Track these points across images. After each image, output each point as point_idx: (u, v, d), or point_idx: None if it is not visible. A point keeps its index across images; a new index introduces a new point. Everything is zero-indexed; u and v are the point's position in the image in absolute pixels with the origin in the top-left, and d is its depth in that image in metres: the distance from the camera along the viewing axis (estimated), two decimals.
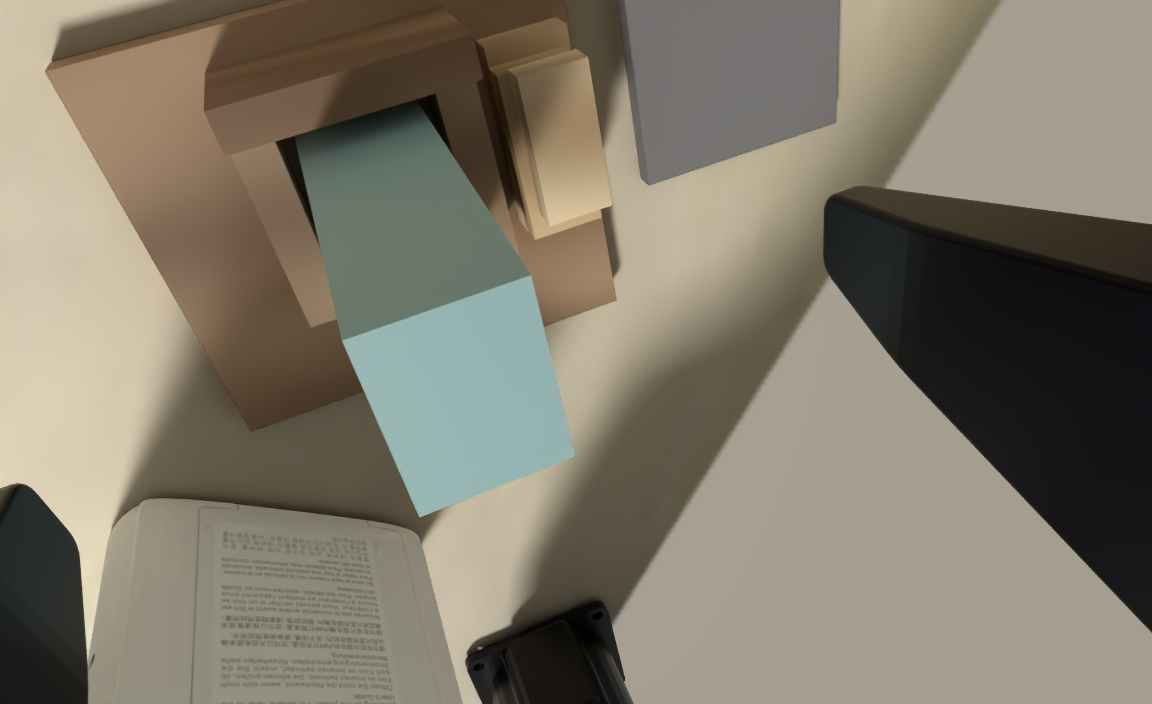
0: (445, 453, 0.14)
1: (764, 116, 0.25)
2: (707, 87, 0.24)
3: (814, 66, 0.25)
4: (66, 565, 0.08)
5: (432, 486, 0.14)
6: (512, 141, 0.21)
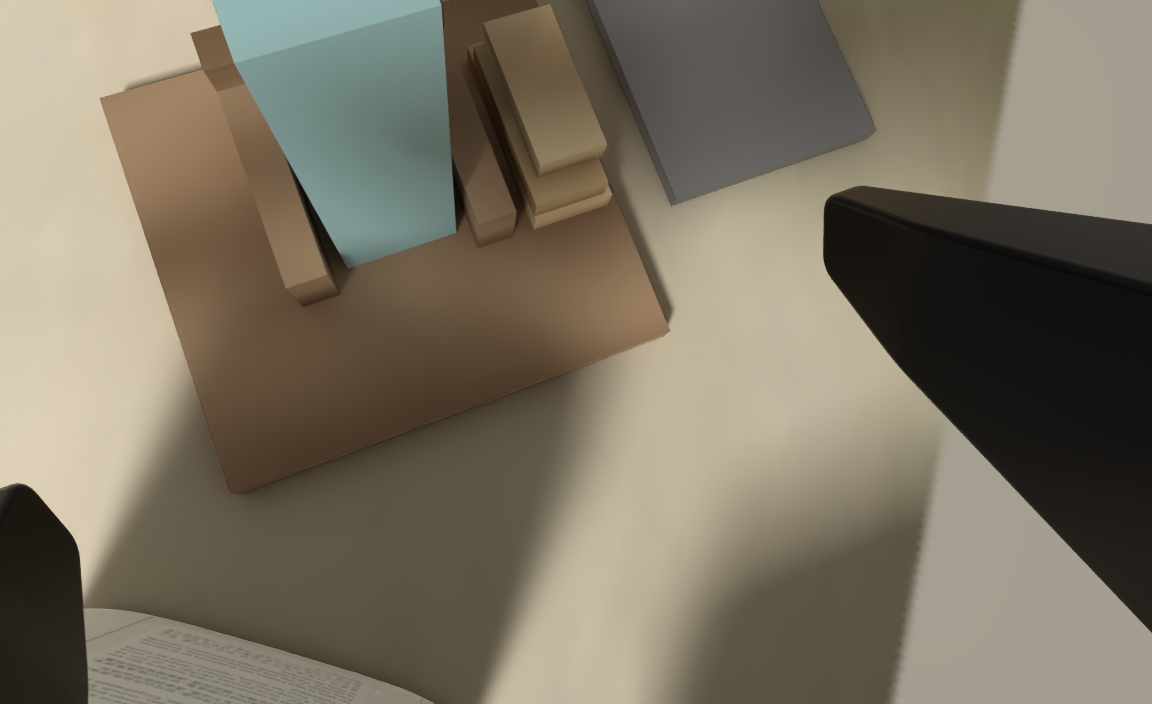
0: None
1: (787, 125, 0.24)
2: (713, 99, 0.24)
3: (825, 76, 0.25)
4: (66, 565, 0.08)
5: (250, 18, 0.11)
6: (496, 105, 0.21)
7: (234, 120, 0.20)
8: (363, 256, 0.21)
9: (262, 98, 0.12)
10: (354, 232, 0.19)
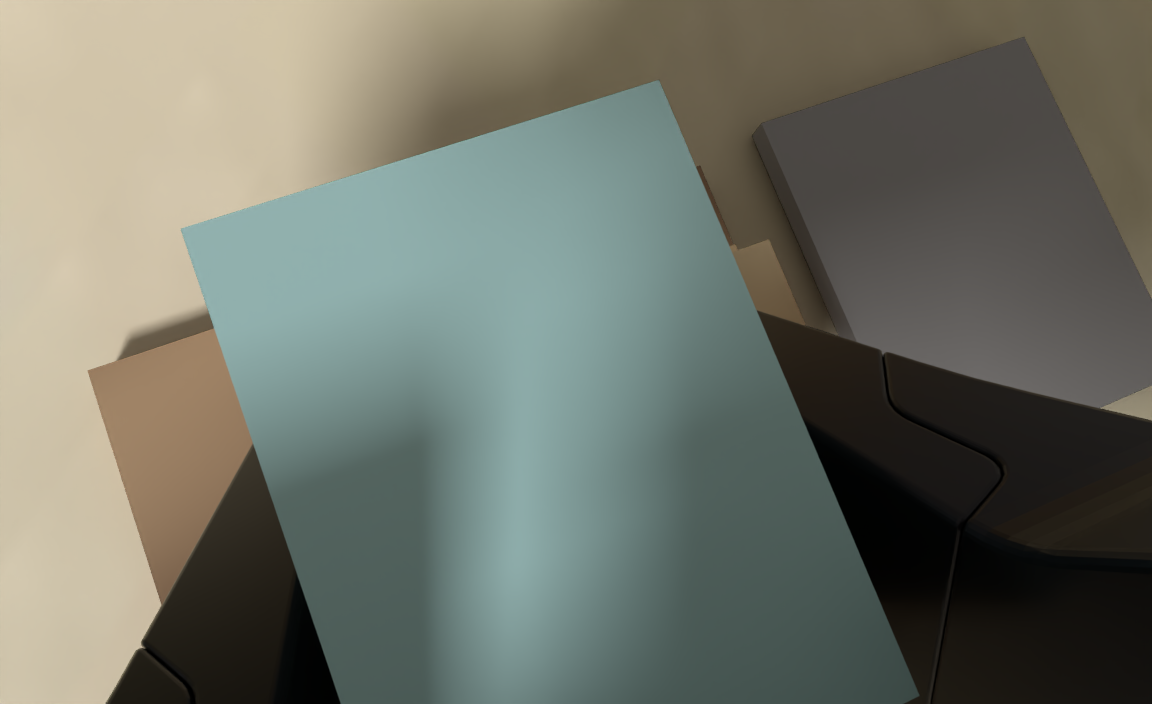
0: (490, 647, 0.04)
1: (1066, 368, 0.17)
2: (962, 333, 0.17)
3: (1112, 293, 0.17)
4: None
5: None
6: None
7: None
8: None
9: None
10: None
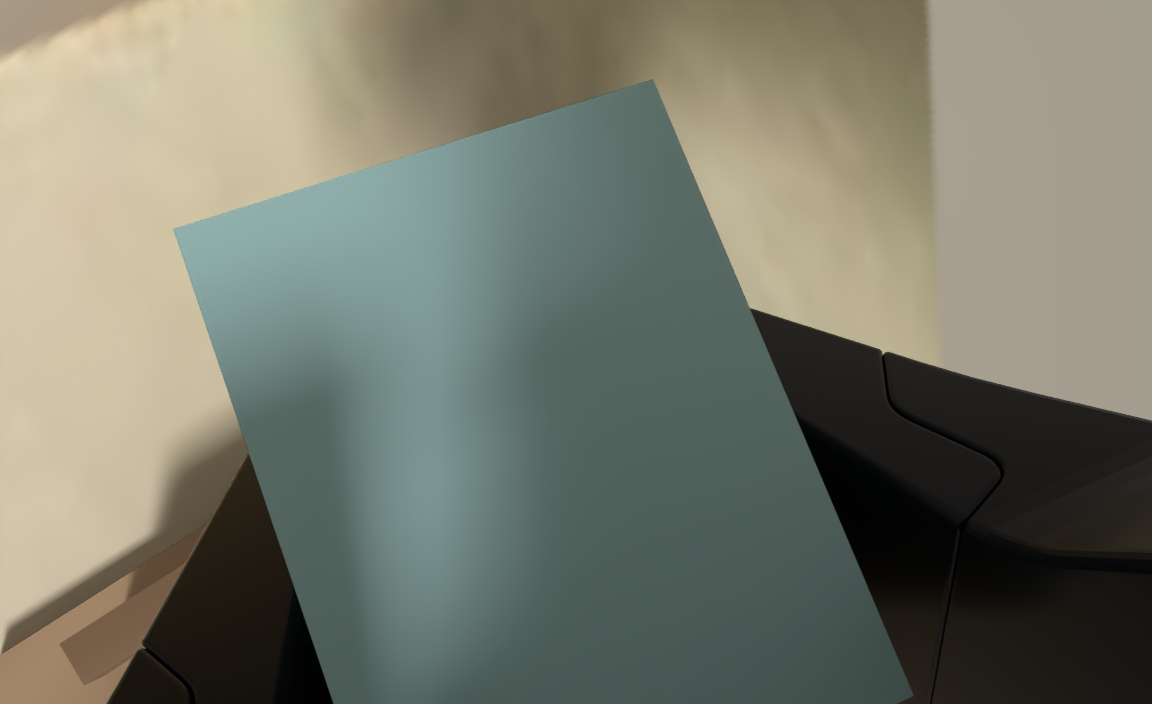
0: (484, 648, 0.04)
1: None
2: None
3: None
4: None
5: None
6: None
7: None
8: None
9: None
10: None
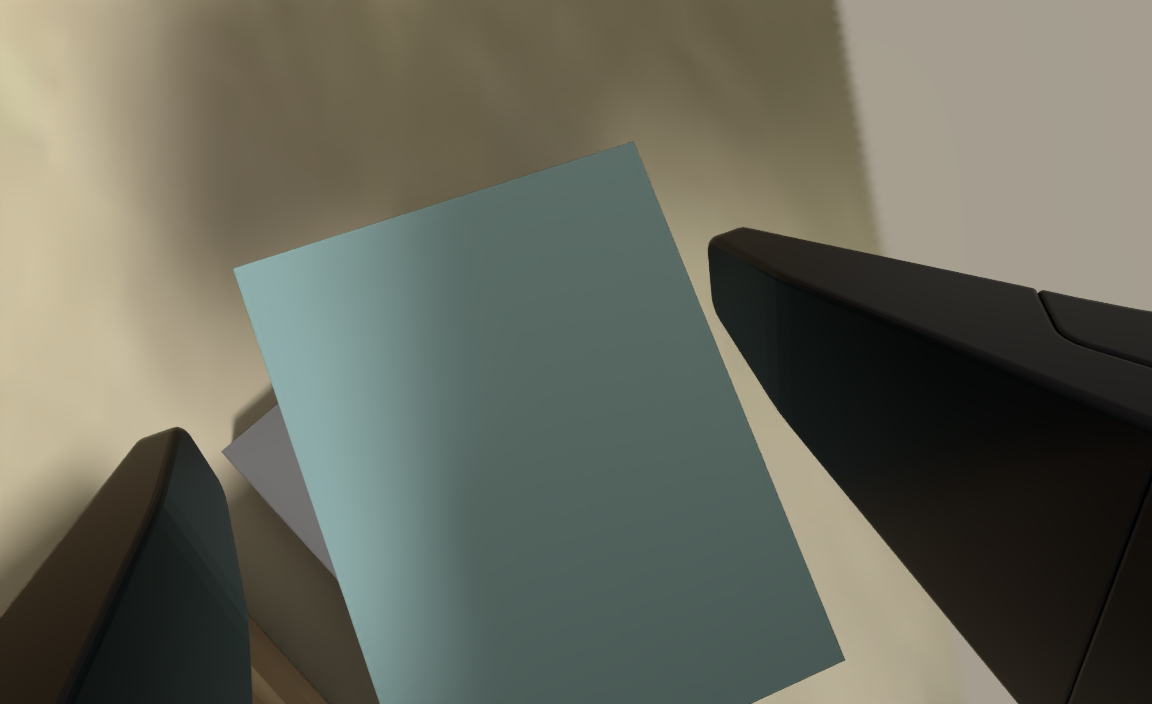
0: (488, 617, 0.05)
1: None
2: None
3: None
4: (219, 508, 0.08)
5: None
6: None
7: None
8: None
9: None
10: None
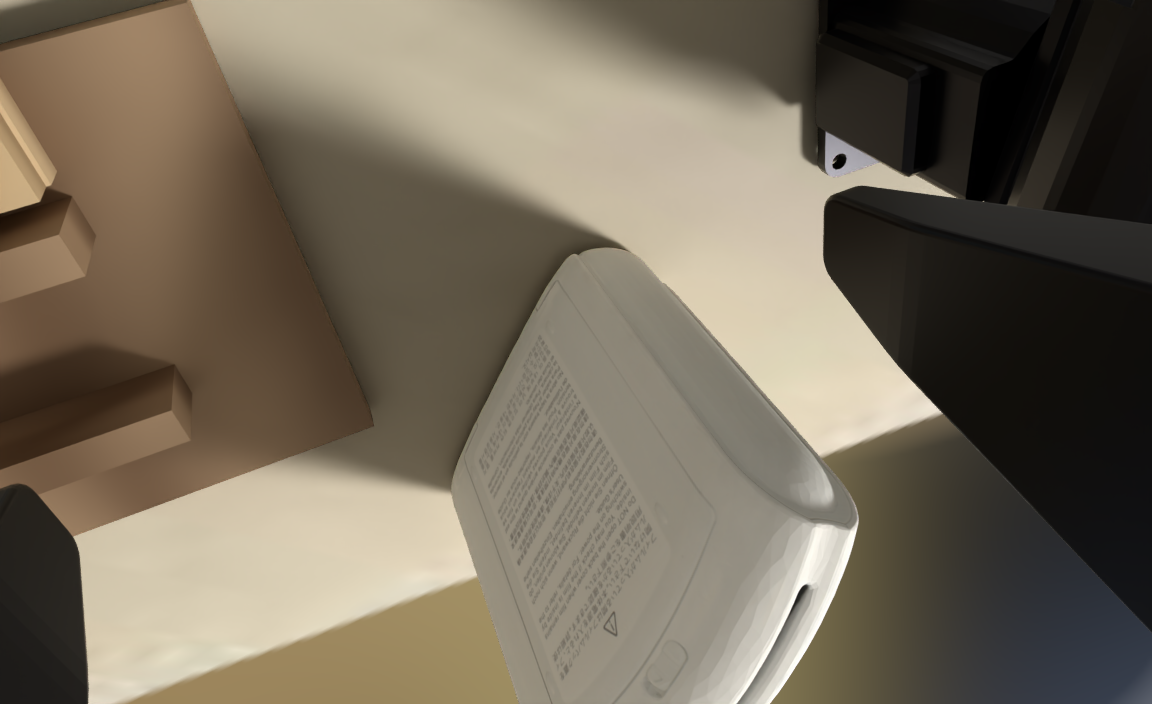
0: None
1: None
2: None
3: None
4: (66, 565, 0.08)
5: None
6: None
7: None
8: None
9: None
10: None
